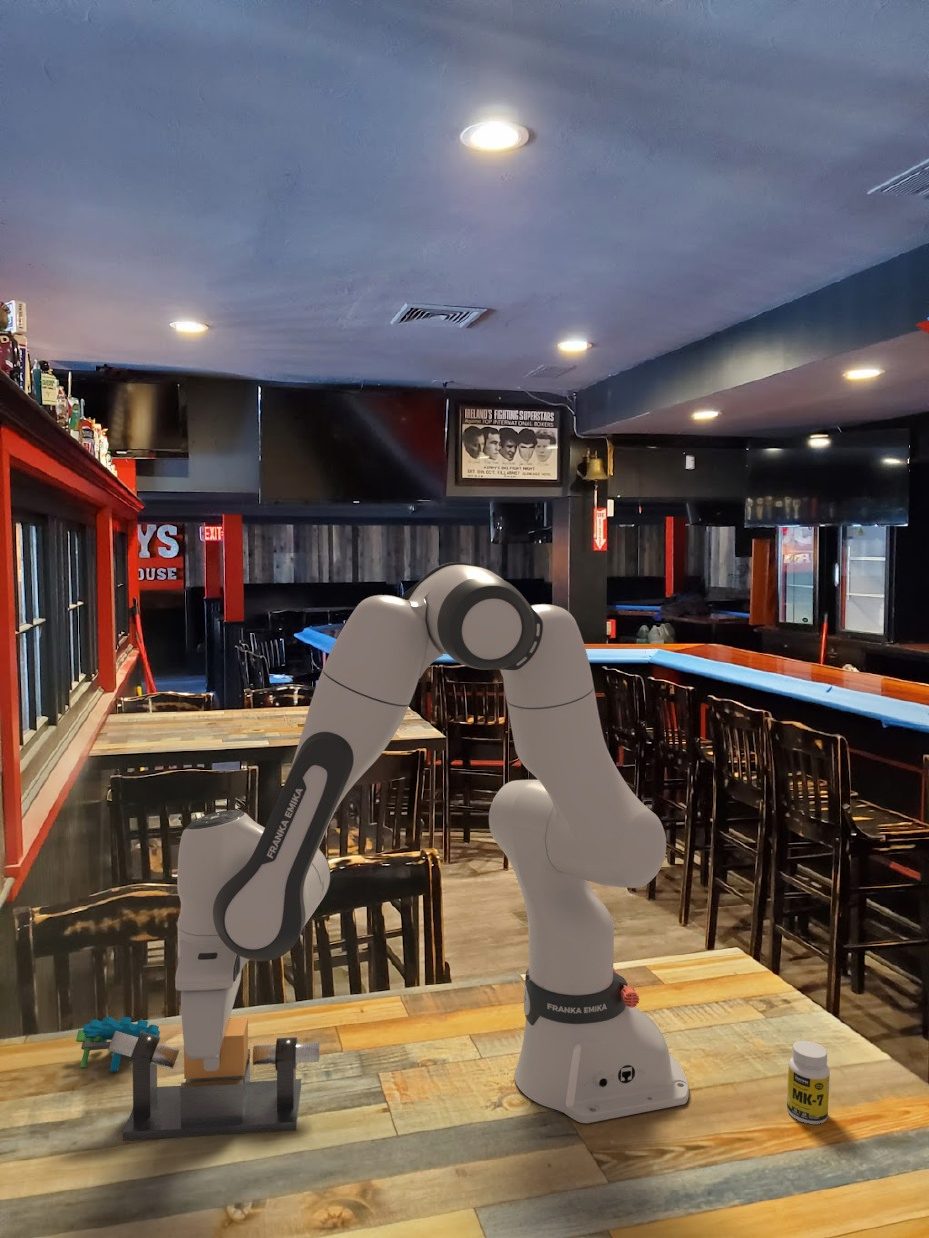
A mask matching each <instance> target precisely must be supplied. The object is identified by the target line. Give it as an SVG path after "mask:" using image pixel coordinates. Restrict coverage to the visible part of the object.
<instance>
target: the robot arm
mask: <svg viewBox="0 0 929 1238" xmlns="http://www.w3.org/2000/svg"><path fill="white" fill-rule="evenodd" d="M582 637H583V636H582V633H581V631H580V628H579V625H578V624H577V621H576V619H575V617H574V616H573V615H572V614H571V612H570V611H568V610H566V609H565V608H564V607H561V606H557V605H553V604H546V603H541V604H538V603H537V604H533V605H530V603H529V602H528V601H527V599H526V598H525V597H524V596H523V594H522V593H521V592H520V591H519V590H518V589H517V588H516V587H515V586H513V585H512V584H511V583H510V582H508V581H506V580H504V579H503V578H502V577H501V576H499V575H497V574H496V573H494V572H493V571H491V570H489V569H487V568H485V567H484V568H483V567H480V566H475V565H473V564H471V563H467V562H461V561H455V562H447V563H444V564H443V563H442V564H441V565H439V566H436V567H435V568H433V569H431V570H430V571H429V572H427V573H426V574H425V575H424V576H423V577H422V578H421V579H420V580H419V581H417V582H416V583H415V584H414V585H413V586H411V587H410V588H408V589H407V590H406V591H404V593H403V594H402V595H401V597H398V596H395V595H388V594H384V595H383V594H377V595H372V596H369V597H367V598H365V599H363V600H361V601H360V603H358V604H357V606H355V608H354V610H353V611H352V613H351V614H350V616H349V617H348V619H347V621H346V622H345V625H344V626H342V628H341V631H340V633H339V635H338V636H337V638H336V640H335V642H334V644H333V646H332V647H331V648H332V649H330V652H329V654H328V657H327V659H326V661H325V663H324V665H323V668H322V669H321V673H320V676H319V677H318V680H317V683H316V686H315V689H314V691H313V696H312V698H311V701H310V704H309V707H308V710H307V714H306V718H305V722H304V724H303V727H302V732H301V735H300V738H299V740H298V744H297V748H296V750H295V754H294V756H293V760H292V764H291V766H290V767H291V768H290V769H289V773H288V775H287V778H286V780H285V782H284V784H283V787H282V788H281V791H280V793H279V796H278V798H277V801H276V803H275V804H274V808H273V809H272V811H271V814H270V815H269V818H268V820H267V822H266V824H265V827H264V826H262V825H260V823H258V822H256V821H254V819H252V817H250V816H249V814H248V813H246V812H244V811H241V810H235V809H229V810H220V811H214V812H212V813H211V812H210V813H209V814H205V815H202V816H200V817H198V818H196V819H195V820H193V821H192V822H191V823H189V824H188V825H187V826H186V827H185V828H184V829H183V831H182V834H181V837H180V842H179V848H178V856H177V881H176V882H177V885H176V886H177V887H176V888H177V894H178V896H179V901H180V912H179V916H178V918H177V965H176V969H175V977H174V979H175V980H174V981H175V990H176V991H181V994H180V1010H181V1011H180V1013H181V1027H182V1037H183V1049H184V1048H185V1052H186V1055H187V1057H188V1058H189V1059H192V1060H196V1059H204V1069H205V1070H206V1071H216V1070H218V1069H219V1066H220V1062H221V1046H222V1043H223V1039H224V1036H225V1032H226V1029H227V1025H228V1022H229V1018H231V1015H232V1011H233V1007H234V1004H235V1000H236V997H237V994H238V991H239V987H240V983H241V979H242V971H243V968H244V967H245V965H246V964H248V962H249V961H254V962H267V961H270V962H271V961H274V960H277V959H280V958H281V957H283V956H284V955H286V954H287V953H288V952H290V951H291V950H292V948H294V946H295V945H296V943H297V941H298V940H299V938H300V936H301V934H302V932H303V929H304V927H305V926H306V925H307V923H308V921H309V920H310V918H311V917H312V915H313V914H314V913H315V911H316V910H317V908H318V906H320V903H321V902H322V901H323V899H324V898H325V896H326V895H327V893H328V891H329V888H330V885H331V879H332V876H331V875H332V874H331V873H332V872H331V867H330V864H329V860H328V859H327V856H326V855H325V854H324V852H323V851H322V849H321V848H320V845H321V844H322V842H323V839H324V836H325V835H326V832H327V830H328V827H329V825H330V823H331V821H332V819H333V816H334V815H335V812H336V811H337V809H338V808H339V805H340V804H341V802H342V801H343V799H344V798H345V797H346V795H347V794H348V792H349V791H350V790H351V789H352V788H353V787H354V785H355V784H356V783H357V782H358V781H359V780H360V778H361V777H362V776H363V775H364V774H365V773H366V772H367V771H368V770H369V768H371V767H372V765H373V764H375V762H376V761H377V760H378V759H379V758H380V756H381V755H382V754H383V752H384V751H385V750H386V748H387V747H388V745H389V744H390V742H391V741H392V739H393V738H394V736H395V734H396V732H398V729H399V728H400V725H401V724H402V722H403V720H404V718H405V716H406V713H407V711H408V709H409V707H410V703H411V702H412V699H413V696H414V695H415V692H416V689H417V686H418V682H419V680H420V679H421V678H422V676H423V675H424V673H425V672H426V670H427V669H428V668H429V666H430V665H431V664H433V662H435V661H436V660H437V659H439V658H441V657H443V656H444V655H448V656H449V657H450V658H452V659H453V660H454V661H455V662H456V663H459V664H461V665H462V666H465V667H468V668H472V669H475V670H483V671H484V670H485V671H486V670H499V671H500V673H501V677H503V678H502V680H503V687H504V693H505V699H506V705H507V706H506V707H507V710H508V715H509V722H510V726H511V727H510V728H511V732H512V739H513V743H514V749H515V753H516V755H517V757H518V759H519V762H520V763H521V764H522V765H523V766H524V767H525V769H526V770H527V771H529V772H530V773H531V774H532V775H533V776H534V777H535V778H536V779H519V780H518V779H517V780H511V781H509V782H507V783H505V784H504V785H502V787H501V788H499V790H498V792H497V793H496V794H495V796H494V797H493V800H492V802H491V803H490V804H491V805H490V808H489V813H488V826H489V831H490V834H491V835H490V836H491V837H492V839H493V841H494V842H495V843H496V844H497V845H498V846H499V848H500V849H501V850H502V852H503V853H504V855H505V856H506V858H507V860H508V861H509V863H510V865H511V867H512V870H513V872H514V875H515V877H516V880H517V883H518V885H519V888H520V890H521V894H522V898H523V901H524V905H525V910H526V916H527V931H528V968H527V970H526V972H525V976H524V977H525V979H524V981H525V982H524V984H523V1011H524V1012H523V1013H524V1016H525V1026H524V1033H523V1041H522V1045H521V1050H520V1054H519V1058H518V1061H517V1065H516V1067H515V1071H514V1080H515V1084H516V1087H518V1089H519V1090H520V1092H522V1094H524V1095H525V1096H526V1097H528V1099H530V1100H531V1101H534V1102H535V1103H537V1104H539V1105H541V1106H544V1107H546V1108H549V1109H552V1110H554V1111H555V1110H557V1111H558V1112H561V1113H564V1115H567V1116H568V1117H570V1118H571V1119H572V1120H574V1121H576V1122H579V1123H581V1124H590V1123H591V1124H592V1123H596V1122H601V1121H606V1120H611V1119H616V1118H621V1117H626V1116H632V1115H636V1114H641V1113H647V1112H651V1111H656V1110H662V1109H667V1108H672V1107H675V1106H676V1107H677V1106H682V1105H685V1104H687V1102H688V1100H689V1096H690V1095H689V1094H690V1091H689V1090H690V1089H689V1082H688V1078H687V1076H686V1074H685V1071H684V1069H683V1068H682V1066H681V1064H680V1062H678V1060H677V1059H676V1058H675V1056H674V1055H672V1053H670V1051H669V1047H668V1043H667V1040H666V1039H665V1036H664V1035H663V1033H662V1031H661V1029H660V1028H659V1026H658V1025H657V1024H656V1022H655V1021H654V1020H653V1019H652V1018H650V1016H649V1015H647V1014H646V1013H644V1012H643V1011H642V1010H640V1009H639V1008H637V1007H636V1006H638V1004H639V1002H640V996H639V994H638V993H637V991H636V990H635V989H634V987H632V986H628V982H627V980H626V979H625V978H624V977H623V976H621V975H620V973H619V972H618V971H617V970H616V969H615V968H614V959H615V958H614V957H615V956H614V955H615V953H614V952H615V951H614V949H615V947H614V946H615V925H614V921H613V920H614V919H613V917H612V914H611V913H610V911H609V909H608V908H607V907H606V905H605V904H604V903H603V902H602V901H601V900H600V898H598V896H597V895H596V893H595V892H594V890H593V888H592V887H591V885H590V883H589V882H591V883H594V884H596V885H600V886H602V887H603V886H604V887H611V888H612V887H613V888H628V889H639V888H643V887H645V886H646V885H647V884H649V883H650V882H652V880H653V879H654V878H655V877H656V876H657V875H658V873H659V872H660V870H661V868H662V866H663V864H664V861H665V857H666V853H667V838H666V832H665V829H664V826H663V824H662V823H663V822H662V821H661V820H660V818H659V817H658V815H657V814H656V813H654V812H653V811H652V809H649V807H647V806H646V805H645V804H644V803H643V802H642V801H641V800H640V799H639V798H638V797H637V795H636V794H635V793H634V792H633V791H632V789H631V788H630V787H629V785H628V784H627V782H626V781H625V780H624V779H625V778H624V777H623V776H622V774H621V773H620V771H619V769H618V768H617V765H616V764H615V762H614V761H613V757H611V754H610V752H609V750H608V747H607V743H606V741H605V738H604V733H603V729H602V724H601V719H600V714H599V709H598V703H597V697H596V692H595V686H594V680H593V679H594V678H593V674H592V670H591V665H590V661H589V656H588V653H587V649H586V646H585V642H584V640H583V638H582Z"/></svg>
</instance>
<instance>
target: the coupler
mask: <svg viewBox="0 0 929 1238" xmlns="http://www.w3.org/2000/svg"><path fill="white" fill-rule="evenodd" d="M248 1049H249V1016H245V1017H242V1016H241V1017H230V1018H229V1022H228V1025H227V1029H226V1032H225V1036H224V1039H223V1043H222V1046H221V1062H220V1066H219V1069H218V1070H216V1071H206V1070H205V1069H204V1059H196V1060H192V1059H189V1058H188V1057H187V1055H186V1052H185V1048H184V1047H183V1071H184V1072H183V1074H184V1076H183V1077H184V1078H183V1079H184V1080H186V1079H194V1078H210V1077H227V1076H243V1075H244V1073H245V1068H246V1063H247V1059H248Z"/></svg>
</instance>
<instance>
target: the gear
mask: <svg viewBox="0 0 929 1238" xmlns="http://www.w3.org/2000/svg"><path fill="white" fill-rule="evenodd" d="M131 1021H132V1018H131V1017H128V1016H126V1017H125V1016H123V1017H120V1021H119V1020H116V1019H115V1018H113V1017H112V1016H107V1017H103V1018H102V1021H101V1020H98V1019H91V1020H90V1022H89V1024H83V1025H84V1026H83V1029H78V1031H77V1035H76V1039H75V1042H77V1043H81V1047H80V1050H83V1054H82V1057H81V1062H80V1069H87V1065H88V1060H89V1056H90V1051H97V1050H98V1051H99V1050H108V1049H109V1046H110V1043H111V1041H112V1038H113V1036H114V1034H115V1032H116V1031H118V1032H121V1033H125V1034H128V1035H131V1036H135V1037H138V1038H139V1035H140V1033H141V1032H144V1033H148V1034H151V1035H155V1036H158V1037H160V1034H161V1031H160V1029H159V1027H160V1026H158V1025H155V1024H150V1025H149V1024H148V1023H149V1021H148V1020H144V1019H139V1020H137V1023H133V1022H131ZM121 1058H122V1054H119V1053H115V1052H113V1054H112V1059H111V1063H110V1067H109V1072H111V1073H115V1072H117V1073H118V1072H119V1067H120V1062H121Z"/></svg>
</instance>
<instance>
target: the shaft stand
mask: <svg viewBox="0 0 929 1238" xmlns="http://www.w3.org/2000/svg"><path fill="white" fill-rule="evenodd" d="M160 1040H161V1036H159V1037H158V1036H155V1035H151V1034H148V1033H144V1032H141V1033H140V1035H139V1038H138V1037H135V1036H131V1035H128V1034H125V1033H121V1032H118V1031H116V1032H115V1034H114V1036H113V1038H112V1040H110V1042H111V1043H110V1046H109V1049H107V1052H108V1051H109V1052H113V1053H114V1052H115V1053H119V1054H121V1056H122V1055H124V1056H126V1057H129V1061H128V1064H130V1065H132V1111H131V1112H130V1115H129V1117H128V1119H127V1122H126V1124H125V1126H124V1129H123V1131H122V1141H135V1140H139V1141H140V1140H150V1139H151V1140H156V1139H168V1138H169V1139H172V1138H173V1139H174V1138H186V1137H202V1136H203V1137H204V1136H218V1135H219V1136H220V1134H222V1135H235V1134H236V1135H237V1134H250V1133H252V1134H253V1133H268V1132H271V1133H272V1132H283V1131H297V1126H298V1117H299V1109H300V1100H301V1093H302V1091H301V1090H302V1078H297V1076H296V1075H297V1074H296V1073H297V1072H296V1071H297V1064H299V1063H302V1064H303V1063H319V1062H320V1046H321V1045H320V1042H319V1041H318V1042H317V1041H316V1042H298V1037H297V1036H293V1037H291V1036H290V1037H278V1038H276V1042H275V1043H276V1044H257V1045H256V1044H255V1045H253V1048H252V1066H261V1065H262V1066H264V1065H267V1066H268V1065H275V1071H276V1080H259V1081H258V1080H257V1081H255V1080H254V1081H251V1077H250V1076H251V1048H248V1059H247V1063H246V1068H245V1073H244V1075H243V1076H227V1077H210V1078H194V1079H185V1082H181V1083H180V1085H167V1086H166V1085H165V1086H158V1066H161V1067H164V1068H168V1069H171V1070H173V1069H174V1066H175V1064H176V1062H177V1058H178V1055H179V1053H180V1049H179V1048H176V1047H172V1046H169V1045H165V1044H162V1043H160ZM300 1092H301V1093H300ZM216 1134H218V1135H216Z"/></svg>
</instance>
